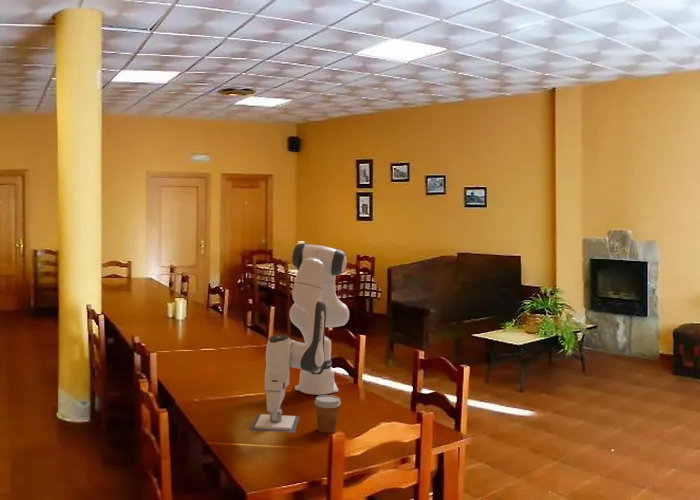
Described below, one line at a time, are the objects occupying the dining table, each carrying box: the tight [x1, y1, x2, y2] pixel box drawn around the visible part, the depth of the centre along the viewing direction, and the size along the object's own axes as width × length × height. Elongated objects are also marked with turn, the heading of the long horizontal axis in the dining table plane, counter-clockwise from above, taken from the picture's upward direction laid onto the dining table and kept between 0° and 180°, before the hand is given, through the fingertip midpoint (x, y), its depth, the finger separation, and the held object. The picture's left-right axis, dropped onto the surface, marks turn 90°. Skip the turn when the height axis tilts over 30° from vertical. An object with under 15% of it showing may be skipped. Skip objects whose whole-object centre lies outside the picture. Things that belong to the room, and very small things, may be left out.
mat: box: [249, 413, 301, 434], centre depth 244 cm, size 18×16×1 cm
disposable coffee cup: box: [314, 394, 342, 434], centre depth 239 cm, size 10×10×12 cm
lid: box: [255, 408, 296, 430], centre depth 244 cm, size 13×13×5 cm
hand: (275, 416), depth 244 cm, fingers closed on lid, 4 cm apart
